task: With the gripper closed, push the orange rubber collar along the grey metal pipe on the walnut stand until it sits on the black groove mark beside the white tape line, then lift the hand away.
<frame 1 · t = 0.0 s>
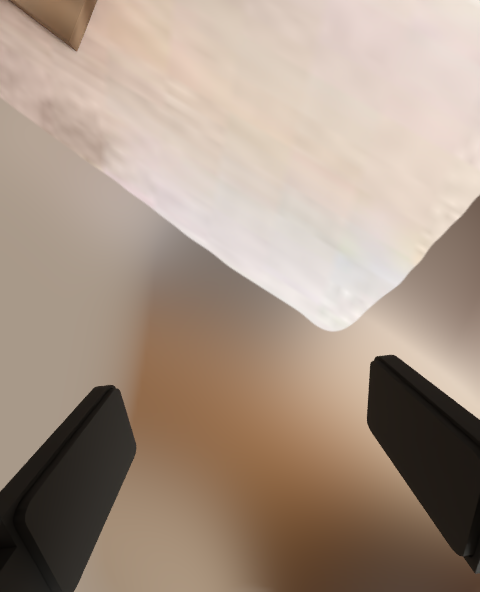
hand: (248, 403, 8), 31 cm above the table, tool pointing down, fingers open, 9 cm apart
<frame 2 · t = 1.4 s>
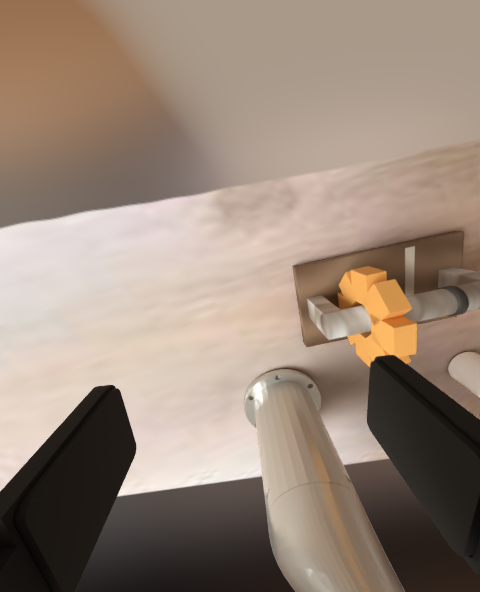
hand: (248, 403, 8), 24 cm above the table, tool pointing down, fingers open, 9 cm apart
collar: (369, 317, 25), point 7 cm above the table, slide at 0.0 cm
pipe stand: (373, 290, 32), on the table
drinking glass: (460, 363, 37), on the table
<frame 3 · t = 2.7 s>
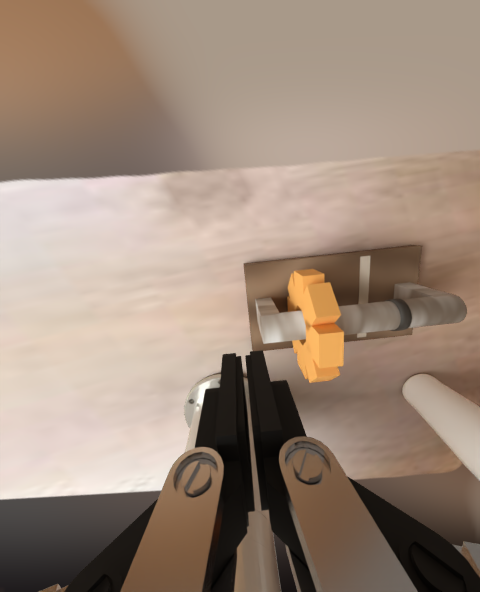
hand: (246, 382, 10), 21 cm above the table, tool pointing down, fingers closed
collar: (309, 324, 23), point 7 cm above the table, slide at 0.0 cm
pipe stand: (327, 298, 31), on the table
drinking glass: (416, 385, 35), on the table
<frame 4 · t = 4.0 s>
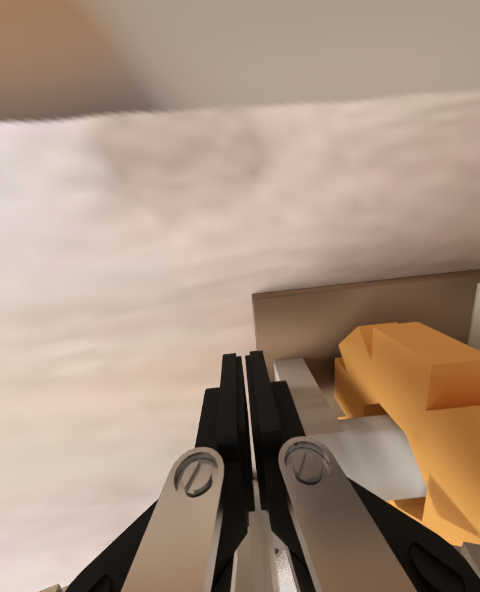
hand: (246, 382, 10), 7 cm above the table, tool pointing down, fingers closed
collar: (410, 451, 10), point 7 cm above the table, slide at 0.0 cm
pipe stand: (400, 353, 17), on the table
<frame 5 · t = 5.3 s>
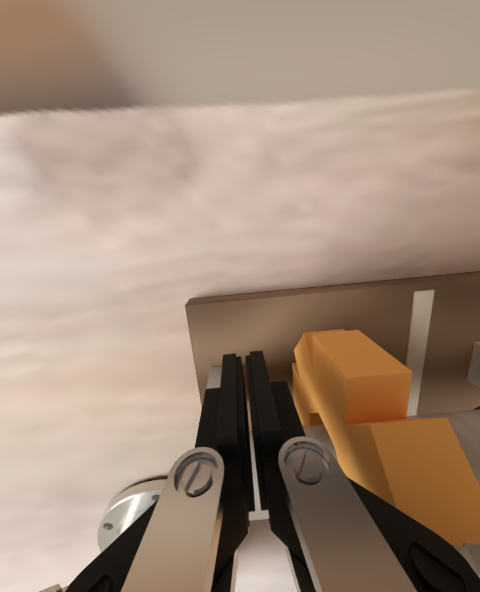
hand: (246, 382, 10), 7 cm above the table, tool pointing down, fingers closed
collar: (347, 462, 10), point 8 cm above the table, slide at 1.5 cm, touching gripper
pipe stand: (345, 360, 17), on the table
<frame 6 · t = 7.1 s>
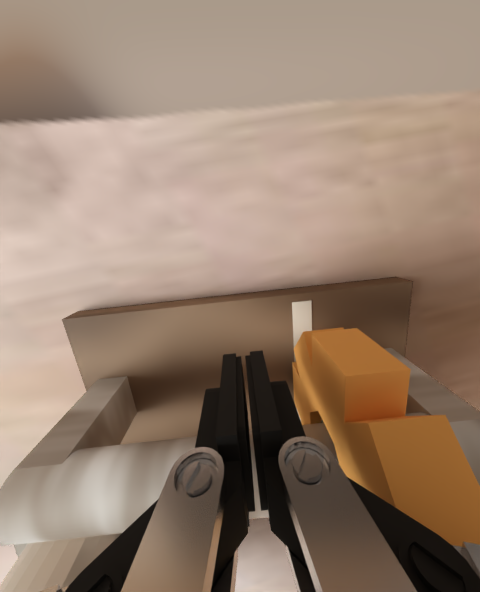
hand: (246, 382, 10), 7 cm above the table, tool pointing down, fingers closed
collar: (348, 460, 10), point 8 cm above the table, slide at 9.1 cm, touching gripper
pipe stand: (245, 369, 17), on the table
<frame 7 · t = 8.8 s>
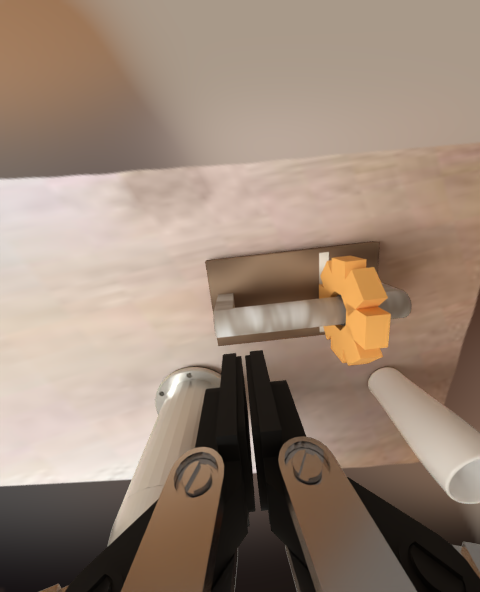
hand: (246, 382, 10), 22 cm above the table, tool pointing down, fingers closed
collar: (346, 309, 24), point 8 cm above the table, slide at 9.2 cm
pipe stand: (291, 294, 31), on the table
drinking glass: (382, 379, 36), on the table
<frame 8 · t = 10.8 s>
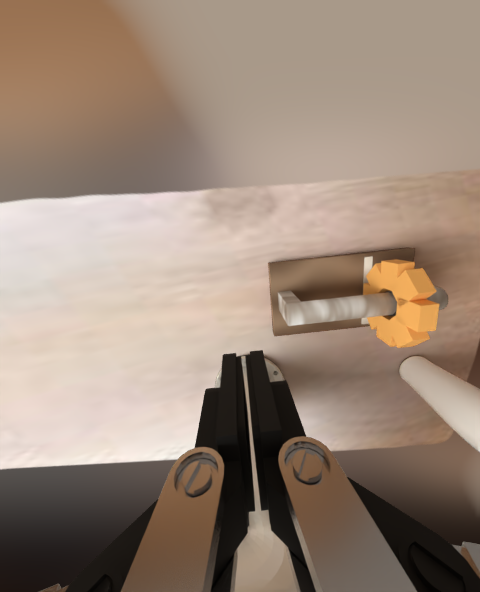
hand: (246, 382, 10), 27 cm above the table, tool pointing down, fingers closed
collar: (393, 303, 30), point 8 cm above the table, slide at 9.2 cm
pipe stand: (337, 291, 37), on the table
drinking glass: (411, 366, 41), on the table
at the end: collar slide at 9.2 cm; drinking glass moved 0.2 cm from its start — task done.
